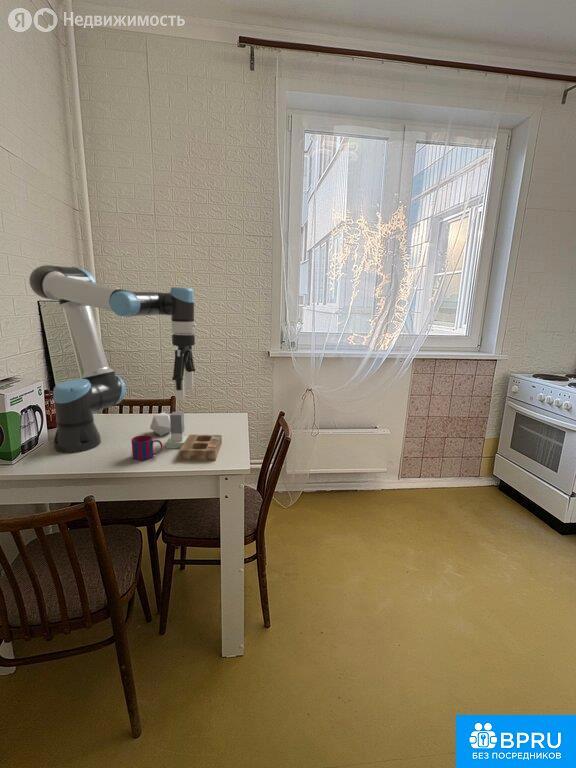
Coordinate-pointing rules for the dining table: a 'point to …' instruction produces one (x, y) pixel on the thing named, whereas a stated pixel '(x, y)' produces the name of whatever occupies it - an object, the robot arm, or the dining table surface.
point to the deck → (175, 443)
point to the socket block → (201, 447)
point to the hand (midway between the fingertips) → (184, 393)
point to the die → (161, 424)
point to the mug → (143, 447)
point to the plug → (177, 426)
